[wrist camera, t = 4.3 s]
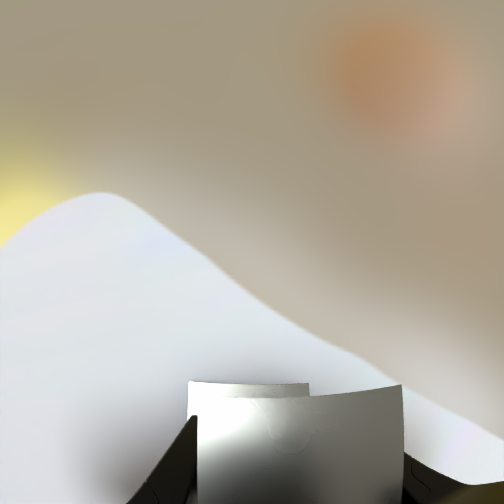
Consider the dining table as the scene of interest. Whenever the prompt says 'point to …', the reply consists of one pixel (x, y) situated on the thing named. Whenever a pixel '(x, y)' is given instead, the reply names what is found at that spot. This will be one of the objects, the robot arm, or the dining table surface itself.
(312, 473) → the steel housing
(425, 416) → the dining table surface
